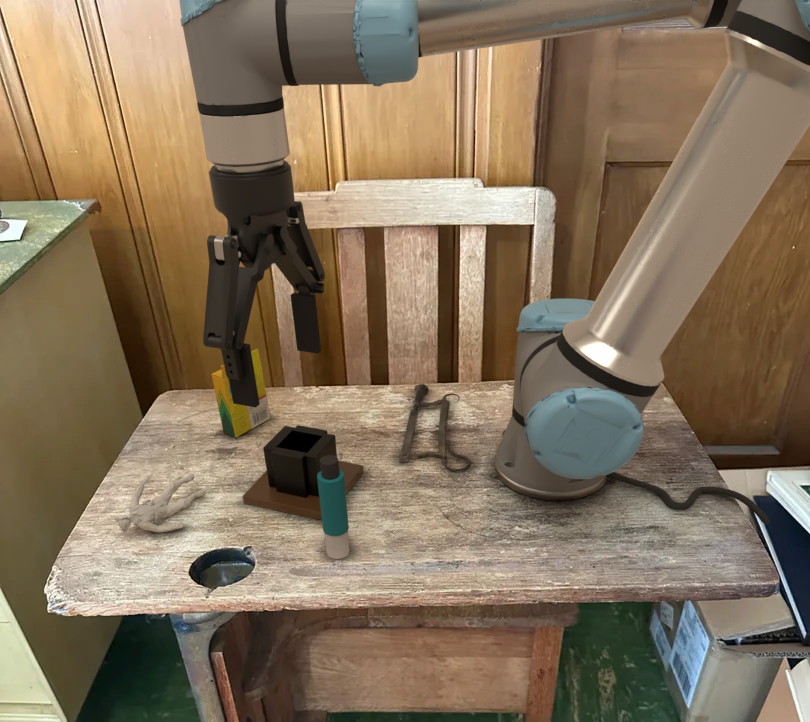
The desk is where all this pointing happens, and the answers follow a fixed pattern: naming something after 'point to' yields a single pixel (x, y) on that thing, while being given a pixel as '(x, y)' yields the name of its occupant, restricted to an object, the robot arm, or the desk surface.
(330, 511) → the teal and black cylinder
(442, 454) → the hacksaw
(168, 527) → the soldier figure
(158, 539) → the desk surface
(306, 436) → the holder
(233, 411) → the crayon box
